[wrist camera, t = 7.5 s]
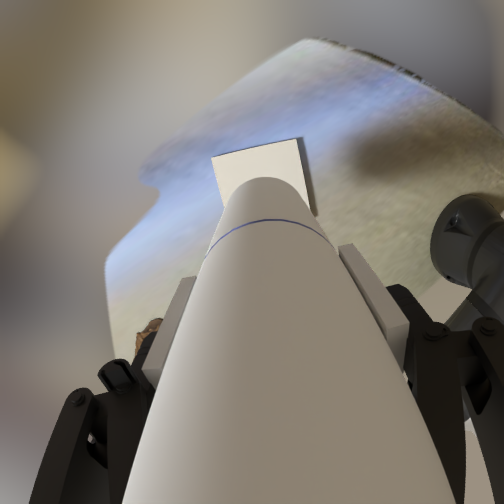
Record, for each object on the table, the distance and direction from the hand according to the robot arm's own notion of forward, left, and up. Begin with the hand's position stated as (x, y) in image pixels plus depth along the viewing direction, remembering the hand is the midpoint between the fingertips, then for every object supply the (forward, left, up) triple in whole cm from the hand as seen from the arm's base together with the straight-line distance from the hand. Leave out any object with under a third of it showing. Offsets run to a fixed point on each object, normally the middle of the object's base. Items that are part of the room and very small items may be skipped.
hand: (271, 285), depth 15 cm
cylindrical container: (0, 0, -12) cm, 12 cm away
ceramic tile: (0, 0, -26) cm, 26 cm away
